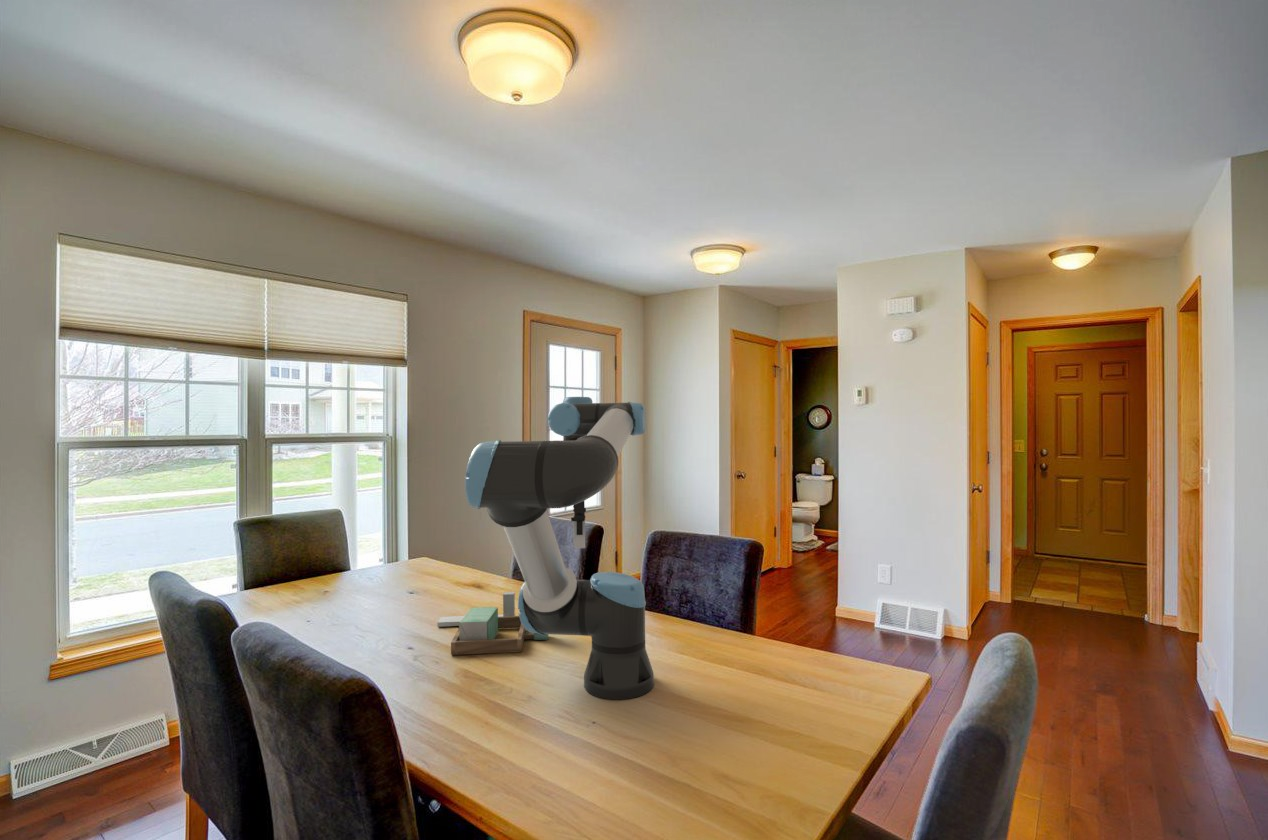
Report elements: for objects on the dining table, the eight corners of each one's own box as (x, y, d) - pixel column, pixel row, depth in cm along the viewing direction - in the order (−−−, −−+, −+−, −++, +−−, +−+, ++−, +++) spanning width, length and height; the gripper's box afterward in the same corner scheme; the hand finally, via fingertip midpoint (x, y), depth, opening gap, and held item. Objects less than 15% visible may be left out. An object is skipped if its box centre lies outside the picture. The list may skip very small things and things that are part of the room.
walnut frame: (546, 650, 151) (546, 605, 151) (451, 654, 149) (450, 609, 149) (549, 625, 170) (549, 585, 170) (464, 629, 168) (464, 589, 168)
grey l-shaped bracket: (513, 623, 172) (513, 595, 172) (437, 626, 170) (437, 598, 170) (515, 617, 177) (515, 590, 177) (441, 621, 175) (441, 593, 175)
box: (498, 632, 166) (498, 605, 166) (488, 651, 152) (488, 621, 152) (471, 633, 165) (471, 606, 165) (458, 652, 152) (458, 622, 152)
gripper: (595, 460, 141) (596, 552, 141) (591, 455, 166) (592, 533, 165) (562, 461, 140) (563, 553, 140) (563, 456, 165) (564, 534, 165)
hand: (579, 542), depth 153 cm, fingers open, 13 cm apart
